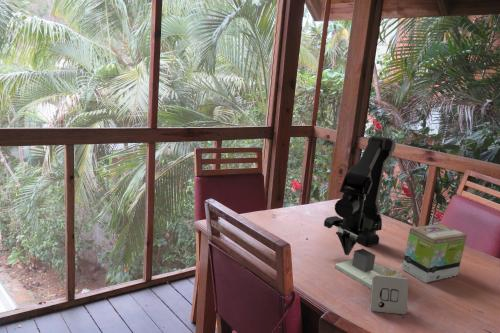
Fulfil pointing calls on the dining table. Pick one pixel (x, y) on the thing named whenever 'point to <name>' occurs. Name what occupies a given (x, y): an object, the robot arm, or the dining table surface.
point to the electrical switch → (389, 294)
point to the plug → (363, 260)
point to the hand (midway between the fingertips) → (346, 254)
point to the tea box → (433, 252)
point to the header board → (366, 277)
